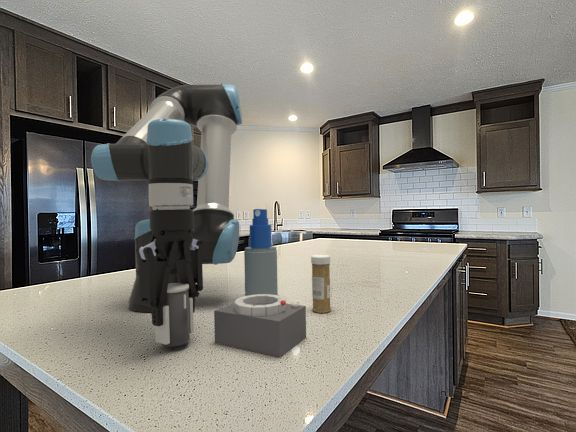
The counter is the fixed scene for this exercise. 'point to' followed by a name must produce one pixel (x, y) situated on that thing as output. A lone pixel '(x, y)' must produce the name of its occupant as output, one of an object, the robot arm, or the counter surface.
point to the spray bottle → (260, 257)
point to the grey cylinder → (178, 313)
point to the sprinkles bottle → (321, 283)
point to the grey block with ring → (261, 324)
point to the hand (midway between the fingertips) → (175, 336)
